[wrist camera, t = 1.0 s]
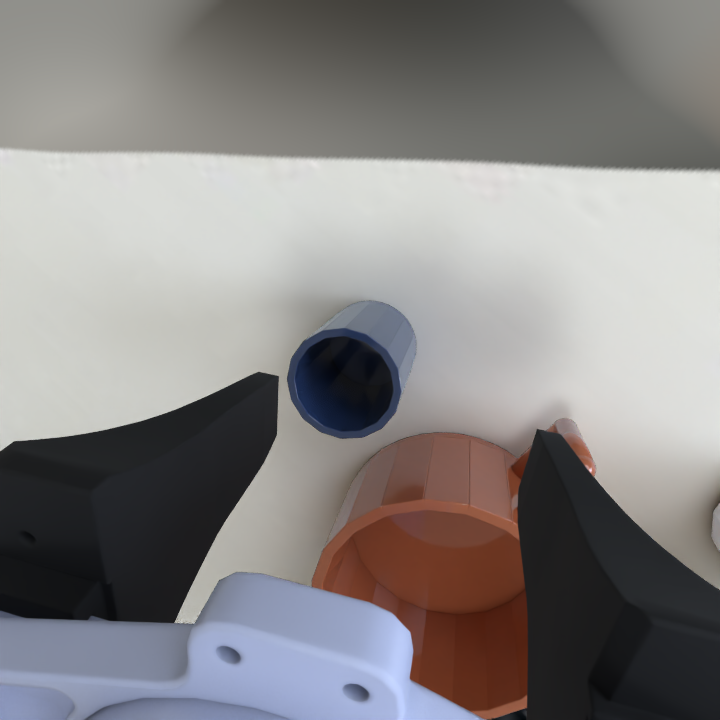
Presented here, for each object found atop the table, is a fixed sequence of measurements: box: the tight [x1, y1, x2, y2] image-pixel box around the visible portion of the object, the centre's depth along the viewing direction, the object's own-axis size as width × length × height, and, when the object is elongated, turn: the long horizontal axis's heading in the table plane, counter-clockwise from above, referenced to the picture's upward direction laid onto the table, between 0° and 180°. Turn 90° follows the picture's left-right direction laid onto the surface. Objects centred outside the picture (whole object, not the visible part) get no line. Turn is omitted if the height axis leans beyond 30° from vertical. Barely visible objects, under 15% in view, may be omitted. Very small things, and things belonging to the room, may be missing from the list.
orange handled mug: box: [312, 418, 596, 719], centre depth 26 cm, size 16×12×7 cm
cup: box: [287, 301, 416, 439], centre depth 25 cm, size 5×5×6 cm
